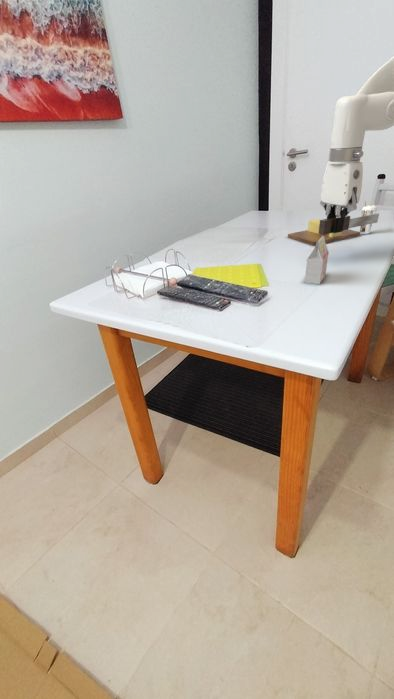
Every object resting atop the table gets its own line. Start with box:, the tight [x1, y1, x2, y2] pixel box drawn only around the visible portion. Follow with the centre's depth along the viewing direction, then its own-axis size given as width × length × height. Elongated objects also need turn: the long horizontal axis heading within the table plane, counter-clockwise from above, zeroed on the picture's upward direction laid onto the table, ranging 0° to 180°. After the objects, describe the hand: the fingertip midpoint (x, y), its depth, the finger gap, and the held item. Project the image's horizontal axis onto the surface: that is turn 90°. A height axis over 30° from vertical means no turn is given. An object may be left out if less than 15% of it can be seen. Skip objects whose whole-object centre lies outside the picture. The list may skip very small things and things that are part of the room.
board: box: [287, 228, 361, 247], centre depth 119 cm, size 20×14×1 cm
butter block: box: [307, 218, 321, 234], centre depth 120 cm, size 4×6×4 cm, turn 24°
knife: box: [319, 213, 380, 235], centre depth 96 cm, size 21×2×4 cm, turn 114°
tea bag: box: [304, 236, 329, 285], centre depth 84 cm, size 4×7×10 cm, turn 151°
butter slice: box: [329, 232, 341, 237], centre depth 113 cm, size 4×1×4 cm, turn 114°
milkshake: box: [359, 200, 378, 235], centre depth 117 cm, size 4×5×10 cm
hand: (333, 230), depth 95 cm, fingers closed on knife, 2 cm apart
